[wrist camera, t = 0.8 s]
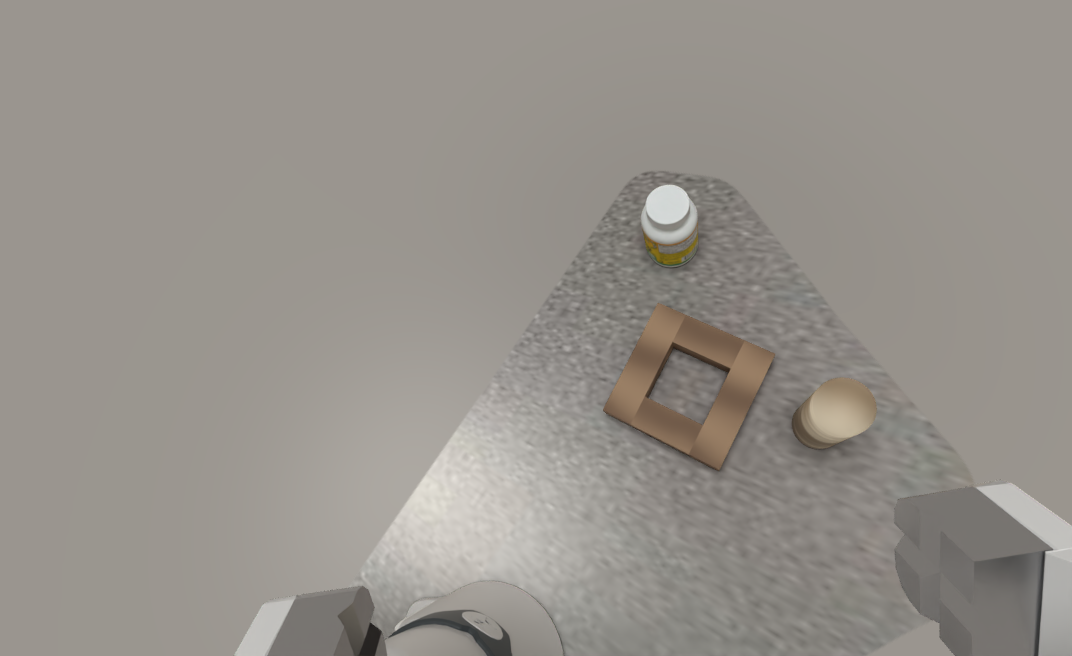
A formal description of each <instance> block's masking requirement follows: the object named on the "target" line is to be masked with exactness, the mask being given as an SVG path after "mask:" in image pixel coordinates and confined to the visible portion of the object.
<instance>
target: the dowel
mask: <svg viewBox="0 0 1072 656" xmlns="http://www.w3.org/2000/svg"><path fill="white" fill-rule="evenodd" d="M876 410H877V408H876V402H875V399H874V397H873V395H872V393H871V392H870V390H869V389H868V388H867V387H866V386H864V385H863V384H862V383H860V382H858V381H856V380H853V379H850V378H835V379H831V380H829V381H827V382H825V383H824V384H822V385H821V386H820V387H819V388H818V389H817V390H816V391H815V392H814V393H813V394H812V395H811V396H810V397H809V398H808V399H807V400H806V401H805V402H804V403H803V404H802V405H801V406H800V407H799V408H798V409H797V410H796V412H795V413H794V415H793V419H792V429H793V432H794V434H795V436H796V437H797V439H798V440H799V441H800V442H801V443H803V444H804V445H806V446H808V447H810V448H813V449H825V448H829V447H831V446H833V445H836V444H838V443H840V442H842V441H844V440H846V439H849V438H851V437H853V436H855V435H857V434H860V433H862V432H864V431H865V430H866V429H868V428H869V427H870V426H871V424H872V423H873V421H874V419H875V417H876Z"/></svg>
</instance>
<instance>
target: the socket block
mask: <svg viewBox="0 0 1072 656" xmlns="http://www.w3.org/2000/svg"><path fill="white" fill-rule="evenodd" d="M673 348H675V349H677V350H679V351H682V352H684V353H686V354H688V355H690V356H693V357H695V358H697V359H699V360H701V361H703V362H706V363H708V364H710V365H712V366H714V367H717V368H719V369H721V370H723V371H725V372H728V373H729V374H728V376H727V378H726V380H725V382H724V384H723V386H722V388H721V390H720V392H719V394H718V396H717V398H716V400H715V402H714V404H713V406H712V408H711V410H710V412H709V414H708V416H707V418H706V420H705V422H704V424H703V425H701V424H699V423H697V422H695V421H693V420H691V419H689V418H687V417H685V416H683V415H681V414H679V413H677V412H675V411H673V410H671V409H669V408H667V407H665V406H663V405H661V404H659V403H657V402H655V401H653V400H651V399H649V398H648V397H649V395H650V393H651V391H652V389H653V387H654V385H655V383H656V381H657V379H658V377H659V375H660V373H661V371H662V369H663V367H664V365H665V363H666V361H667V359H668V358H669V356H670V354H671V352H672V350H673ZM774 356H775V354H774V353H772V352H770V351H768V350H765V349H763V348H761V347H758V346H756V345H754V344H752V343H749V342H747V341H745V340H742V339H740V338H738V337H735V336H733V335H731V334H729V333H726V332H724V331H722V330H719V329H717V328H715V327H713V326H710V325H708V324H706V323H703V322H701V321H699V320H696V319H694V318H692V317H690V316H687V315H685V314H683V313H680V312H678V311H676V310H674V309H671V308H669V307H667V306H664V305H662V304H660V303H658V304H657V306H656V308H655V310H654V312H653V314H652V316H651V317H650V319H649V321H648V323H647V325H646V327H645V329H644V331H643V333H642V335H641V337H640V339H639V341H638V343H637V345H636V347H635V349H634V350H633V352H632V354H631V356H630V358H629V360H628V362H627V364H626V366H625V368H624V370H623V372H622V374H621V376H620V378H619V380H618V382H617V383H616V385H615V387H614V389H613V391H612V393H611V395H610V397H609V399H608V401H607V403H606V405H605V407H604V409H603V411H604V412H605V413H606V414H608V415H610V416H612V417H614V418H616V419H618V420H620V421H622V422H624V423H626V424H628V425H630V426H632V427H633V428H635V429H637V430H639V431H641V432H643V433H645V434H647V435H649V436H651V437H653V438H655V439H657V440H659V441H661V442H663V443H665V444H666V445H668V446H670V447H672V448H674V449H676V450H678V451H680V452H682V453H684V454H686V455H688V456H690V457H692V458H694V459H696V460H698V461H700V462H701V463H703V464H705V465H707V466H709V467H711V468H713V469H715V470H717V471H719V470H720V468H721V466H722V464H723V462H724V460H725V457H726V455H727V453H728V451H729V449H730V447H731V445H732V443H733V441H734V439H735V437H736V435H737V433H738V431H739V429H740V426H741V424H742V422H743V420H744V418H745V416H746V414H747V412H748V410H749V408H750V406H751V404H752V402H753V400H754V398H755V395H756V393H757V391H758V389H759V387H760V385H761V383H762V381H763V379H764V377H765V375H766V373H767V371H768V369H769V367H770V364H771V362H772V360H773V358H774Z"/></svg>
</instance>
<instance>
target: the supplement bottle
mask: <svg viewBox="0 0 1072 656" xmlns="http://www.w3.org/2000/svg"><path fill="white" fill-rule="evenodd" d="M641 225H642V230H643V234H644V239H645V244H646V248H647V251H648V254H649V255H650V257H651V258H652V259H653V260H654V261H655V262H656V263H657V264H659V265H661V266H664V267H678V266H681V265H683V264H685V263H687V262H688V261H689V260H691V259H692V257H693V256H694V255H695V253H696V250H697V247H698V215H697V210H696V207H695V205H694V203H693V202H692V201H691V200H690V199H689V197H688V195H687V193H686V192H685V191H684V190H683V189H681V188H680V187H678V186H674V185H664V186H660V187H658V188H656V189H655V190H653V191H652V192H651V193H650V195H649V196H648V198H647V200H646V205H645V207H644V208H643V211H642V215H641Z"/></svg>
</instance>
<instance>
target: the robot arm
mask: <svg viewBox="0 0 1072 656" xmlns="http://www.w3.org/2000/svg"><path fill="white" fill-rule="evenodd" d="M894 523H895V524H896V525H897V527H898V528H899V529H900V530H901V531H902V532H903V533H904V534H905V535H904V536H903V538H902V539H901V540H900V542H899V543H898V545H897V546H896V548H895V561H896V570H897V573H898V576H899V579H900V582H901V586H902V588H903V590H904V591H905V593H906V595H907V597H908V599H909V600H910V602H911V603H912V604H913V606H914V607H915V608H916V609H917V611H918V612H919V613H920V614H921V615H923V616H926V617H928V618H930V619H932V620H934V621H936V622H938V623H940V639H941V640H942V641H943V642H944V643H945V645H946V646H947V647H948V648H949V649H950V651H951V652H952V653H953V654H954V655H955V656H1072V526H1071V525H1070V524H1068V523H1067V522H1065V521H1064V520H1063V519H1061V518H1060V517H1058V516H1057V515H1056V514H1054V513H1053V512H1051V511H1050V510H1049V509H1047V508H1046V507H1044V506H1043V505H1042V504H1040V503H1039V502H1037V501H1036V500H1035V499H1033V498H1032V497H1030V496H1029V495H1028V494H1026V493H1025V492H1023V491H1022V490H1020V489H1019V488H1018V487H1016V486H1015V485H1013V484H1012V483H1010V482H1007V481H1003V480H996V481H991V482H986V483H980V484H975V485H970V486H966V487H965V488H960V489H954V490H948V491H942V492H936V493H931V494H925V495H919V496H913V497H907V498H901V499H898V500H897V503H896V505H895V508H894ZM374 608H375V607H374V604H373V602H372V599H371V596H370V593H369V590H368V589H366V588H365V587H363V586H359V587H352V588H345V589H337V590H330V591H324V592H317V593H309V594H303V595H300V596H298V595H296V596H289V597H284V598H277V599H271V600H269V601H267V602H266V603H265V604H263V605H262V606H261V608H260V610H259V612H258V614H257V615H256V617H255V619H254V621H253V623H252V624H251V626H250V628H249V630H248V631H247V633H246V635H245V637H244V639H243V640H242V642H241V644H240V646H239V647H238V649H237V651H236V653H235V655H234V656H563V649H562V645H561V641H560V638H559V635H558V632H557V630H556V628H555V626H554V624H553V622H552V620H551V618H550V617H549V615H548V614H547V612H546V611H545V610H544V608H543V607H542V606H541V605H540V604H539V603H538V602H537V601H536V600H535V599H534V598H533V597H532V596H530V595H529V594H528V593H526V592H525V591H523V590H521V589H519V588H517V587H515V586H513V585H510V584H507V583H503V582H497V581H482V582H476V583H472V584H469V585H466V586H464V587H462V588H460V589H458V590H456V591H454V592H452V593H451V594H449V595H447V596H444V597H434V598H424V599H420V600H418V601H416V602H415V603H413V604H412V605H411V606H410V608H409V610H408V613H407V616H406V618H405V619H403V620H402V621H400V622H399V623H398V624H397V625H396V627H395V632H394V633H393V634H392V635H391V636H389V637H388V638H387V639H385V640H384V637H383V634H382V631H381V630H380V629H378V628H377V627H376V626H374V625H373V624H372V623H371V622H370V621H371V618H372V614H373V611H374Z"/></svg>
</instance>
